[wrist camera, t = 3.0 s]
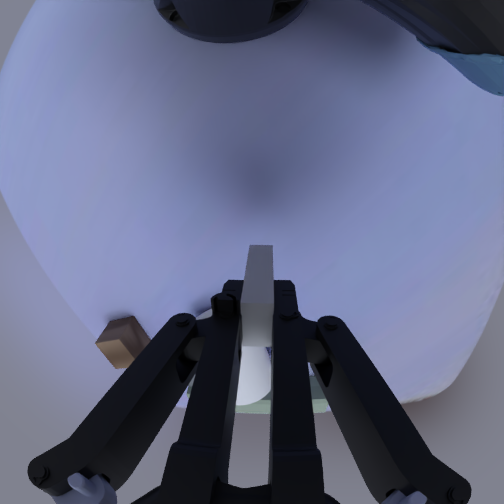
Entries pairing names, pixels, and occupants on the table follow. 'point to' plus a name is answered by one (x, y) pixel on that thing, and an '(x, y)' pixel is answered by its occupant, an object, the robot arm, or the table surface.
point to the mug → (251, 372)
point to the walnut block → (122, 341)
